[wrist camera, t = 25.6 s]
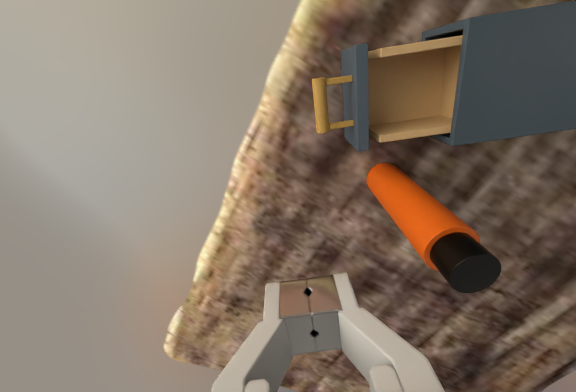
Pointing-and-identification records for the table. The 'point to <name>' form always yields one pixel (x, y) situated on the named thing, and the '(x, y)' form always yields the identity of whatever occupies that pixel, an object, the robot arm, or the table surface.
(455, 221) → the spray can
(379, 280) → the table surface
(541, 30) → the cabinet
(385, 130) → the drawer
